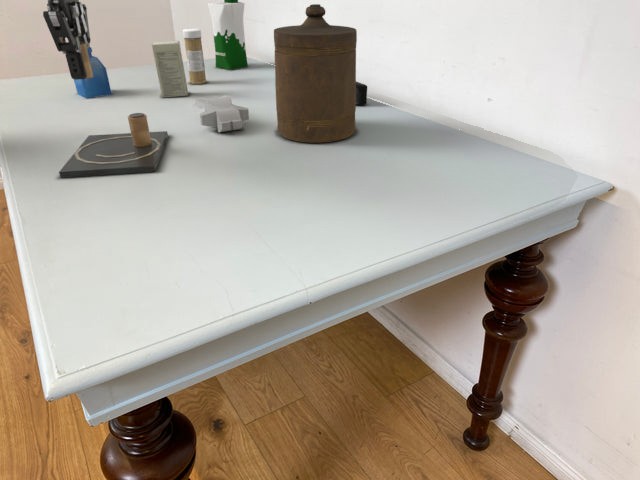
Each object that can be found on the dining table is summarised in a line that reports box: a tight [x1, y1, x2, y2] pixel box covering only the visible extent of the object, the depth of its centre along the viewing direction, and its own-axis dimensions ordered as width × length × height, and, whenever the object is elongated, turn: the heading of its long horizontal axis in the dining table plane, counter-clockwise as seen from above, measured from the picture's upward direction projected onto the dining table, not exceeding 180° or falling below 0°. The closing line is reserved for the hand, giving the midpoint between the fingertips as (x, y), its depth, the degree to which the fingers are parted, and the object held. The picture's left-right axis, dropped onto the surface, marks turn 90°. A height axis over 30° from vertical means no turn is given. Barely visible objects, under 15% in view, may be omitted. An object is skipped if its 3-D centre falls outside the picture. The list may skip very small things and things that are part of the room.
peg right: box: [127, 112, 151, 147], centre depth 82 cm, size 3×3×5 cm
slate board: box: [58, 130, 169, 179], centre depth 82 cm, size 14×18×1 cm
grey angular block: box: [193, 94, 250, 133], centre depth 96 cm, size 10×5×15 cm
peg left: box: [80, 42, 93, 79], centre depth 76 cm, size 3×3×5 cm
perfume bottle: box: [73, 42, 113, 99], centre depth 117 cm, size 6×6×12 cm
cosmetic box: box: [151, 40, 189, 98], centre depth 115 cm, size 6×4×12 cm
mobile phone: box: [356, 81, 368, 106], centre depth 112 cm, size 5×3×15 cm
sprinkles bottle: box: [182, 28, 207, 85], centre depth 127 cm, size 5×5×13 cm
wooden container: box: [273, 3, 358, 144], centre depth 87 cm, size 15×15×22 cm
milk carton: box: [207, 0, 249, 71], centre depth 144 cm, size 9×9×20 cm
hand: (82, 75), depth 77 cm, fingers closed on peg left, 3 cm apart
